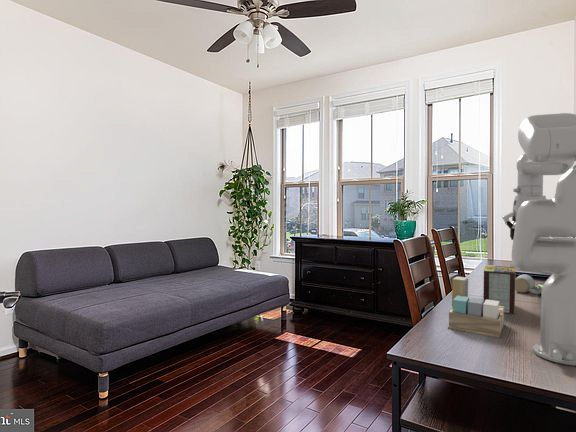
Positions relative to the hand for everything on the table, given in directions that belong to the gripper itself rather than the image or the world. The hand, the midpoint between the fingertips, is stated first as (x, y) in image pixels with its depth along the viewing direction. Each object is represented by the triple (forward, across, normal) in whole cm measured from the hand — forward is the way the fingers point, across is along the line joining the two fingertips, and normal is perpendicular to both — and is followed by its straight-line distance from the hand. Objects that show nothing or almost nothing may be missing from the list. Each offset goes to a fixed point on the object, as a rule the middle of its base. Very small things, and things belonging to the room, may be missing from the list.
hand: (528, 240), depth 129 cm
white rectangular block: (+24, -18, -15) cm, 34 cm away
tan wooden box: (+28, -21, -12) cm, 37 cm away
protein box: (+28, -4, +13) cm, 31 cm away
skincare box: (+28, -20, +8) cm, 35 cm away
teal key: (+24, -26, -11) cm, 37 cm away
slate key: (+24, -22, -13) cm, 35 cm away
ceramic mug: (+28, +21, +43) cm, 55 cm away
